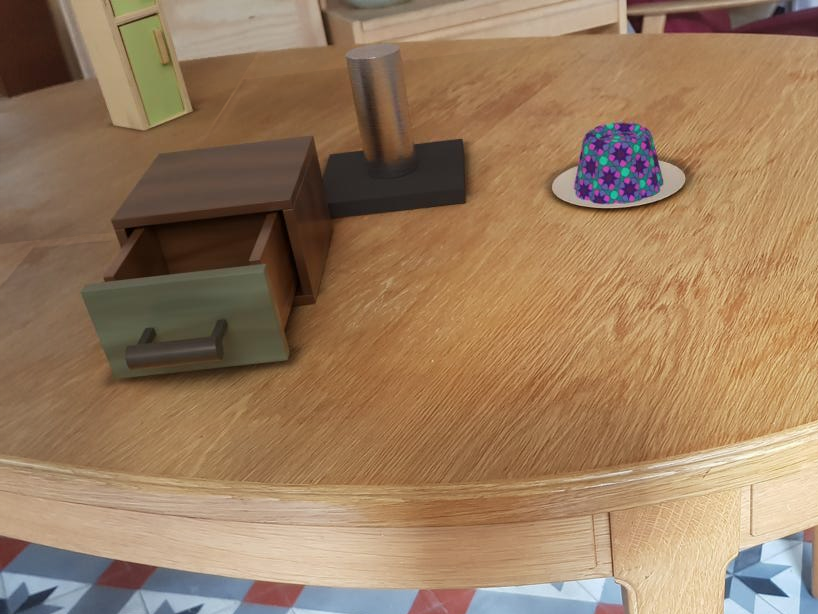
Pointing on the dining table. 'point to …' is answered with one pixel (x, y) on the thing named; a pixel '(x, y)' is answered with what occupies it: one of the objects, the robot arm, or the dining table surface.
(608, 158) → the pudding
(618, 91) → the dining table surface
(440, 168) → the black rectangular block
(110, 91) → the toy refrigerator
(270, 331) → the drawer
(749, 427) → the dining table surface
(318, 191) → the cabinet
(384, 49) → the brushed steel cylinder
